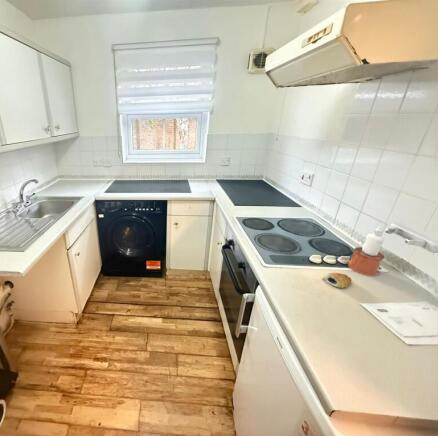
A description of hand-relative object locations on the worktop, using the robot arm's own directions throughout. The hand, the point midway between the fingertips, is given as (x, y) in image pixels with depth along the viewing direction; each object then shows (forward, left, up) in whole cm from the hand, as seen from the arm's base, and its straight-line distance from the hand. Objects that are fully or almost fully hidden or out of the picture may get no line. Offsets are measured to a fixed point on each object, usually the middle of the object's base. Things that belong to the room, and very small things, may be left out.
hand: (396, 236), depth 95 cm
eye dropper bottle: (+7, +2, -9) cm, 11 cm away
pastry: (+19, +18, -17) cm, 31 cm away
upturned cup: (+7, +2, -16) cm, 18 cm away
